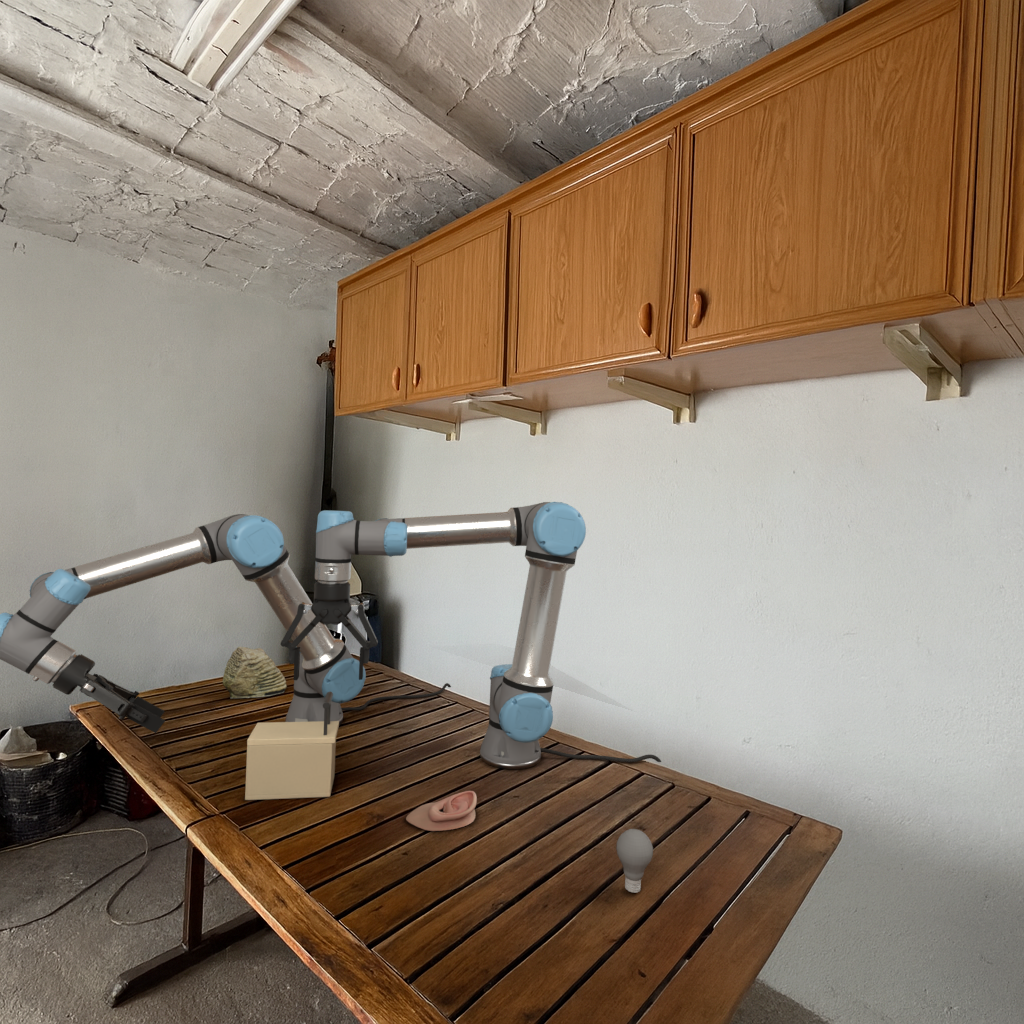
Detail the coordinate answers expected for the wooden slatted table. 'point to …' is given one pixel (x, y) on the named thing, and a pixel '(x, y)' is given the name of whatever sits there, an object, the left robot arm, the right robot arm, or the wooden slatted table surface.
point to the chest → (289, 771)
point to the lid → (297, 730)
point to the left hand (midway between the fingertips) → (160, 721)
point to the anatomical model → (445, 813)
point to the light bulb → (634, 857)
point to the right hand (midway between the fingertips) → (328, 678)
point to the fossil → (252, 674)
